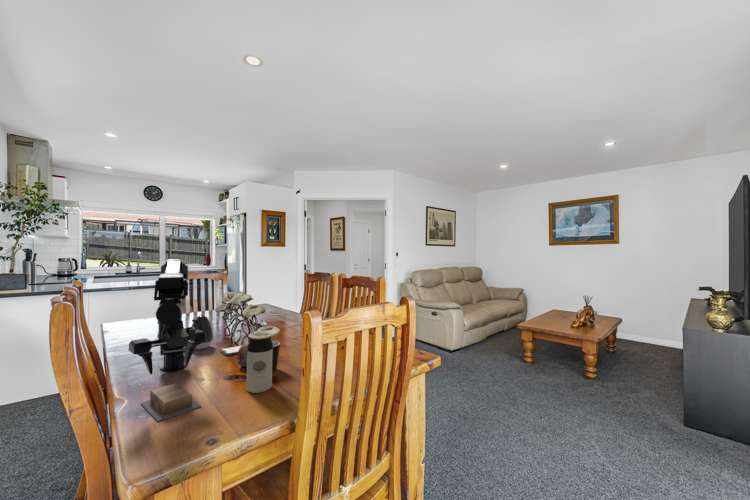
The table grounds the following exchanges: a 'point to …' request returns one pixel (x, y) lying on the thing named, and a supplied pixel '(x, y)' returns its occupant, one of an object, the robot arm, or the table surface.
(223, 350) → the phone case
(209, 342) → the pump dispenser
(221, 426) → the table surface
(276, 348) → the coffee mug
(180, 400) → the board
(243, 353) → the tin
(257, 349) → the travel mug
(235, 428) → the table surface
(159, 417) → the mat
